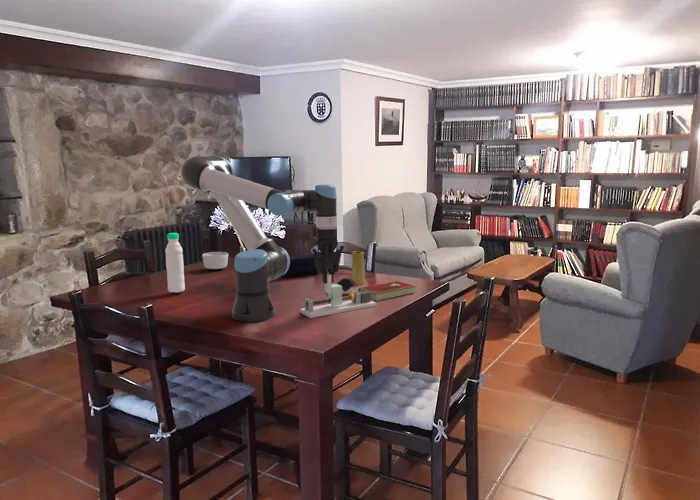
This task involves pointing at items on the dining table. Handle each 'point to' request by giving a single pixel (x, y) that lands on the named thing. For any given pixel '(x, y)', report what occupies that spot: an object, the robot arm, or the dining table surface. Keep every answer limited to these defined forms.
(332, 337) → the dining table surface
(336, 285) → the pale green block
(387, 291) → the hardcover book
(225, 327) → the dining table surface
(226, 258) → the ramekin
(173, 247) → the water bottle
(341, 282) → the power plug
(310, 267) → the storage box
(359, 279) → the vase
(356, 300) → the linear slide rail
